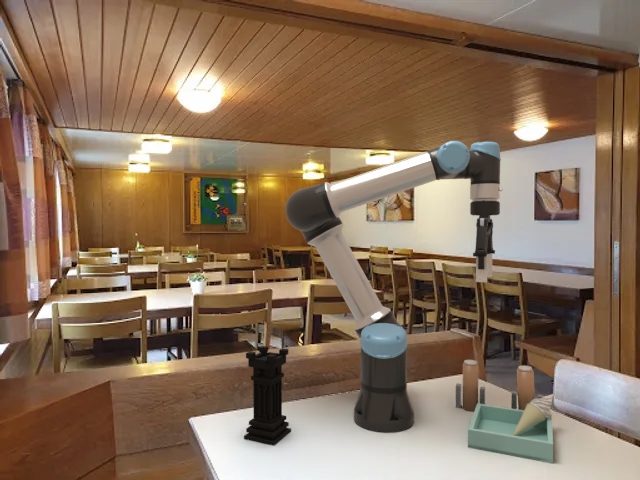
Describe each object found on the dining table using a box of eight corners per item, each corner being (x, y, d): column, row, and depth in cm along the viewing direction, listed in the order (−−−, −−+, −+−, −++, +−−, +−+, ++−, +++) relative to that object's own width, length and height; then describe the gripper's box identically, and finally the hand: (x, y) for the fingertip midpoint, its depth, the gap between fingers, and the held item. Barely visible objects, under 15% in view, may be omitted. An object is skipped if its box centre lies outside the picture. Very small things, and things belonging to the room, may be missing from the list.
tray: (467, 447, 105) (467, 429, 105) (477, 418, 120) (477, 403, 120) (553, 463, 98) (553, 444, 98) (551, 431, 113) (551, 414, 113)
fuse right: (519, 419, 120) (517, 368, 120) (517, 413, 124) (515, 364, 124) (536, 420, 119) (534, 369, 119) (534, 414, 123) (532, 365, 123)
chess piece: (291, 431, 113) (290, 348, 112) (274, 445, 106) (273, 357, 105) (262, 425, 116) (261, 345, 116) (244, 439, 109) (243, 353, 108)
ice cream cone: (527, 447, 107) (567, 403, 111) (516, 429, 106) (557, 386, 111) (512, 440, 111) (551, 399, 116) (501, 423, 111) (540, 382, 116)
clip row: (455, 407, 128) (455, 385, 128) (456, 404, 130) (456, 383, 129) (542, 421, 119) (543, 397, 119) (542, 418, 121) (543, 395, 120)
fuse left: (461, 409, 126) (461, 362, 126) (463, 404, 130) (463, 358, 129) (477, 412, 125) (477, 364, 124) (478, 407, 128) (479, 360, 128)
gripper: (495, 197, 114) (495, 285, 115) (503, 202, 137) (502, 275, 137) (463, 198, 117) (463, 283, 118) (476, 203, 140) (475, 274, 140)
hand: (484, 279), depth 128 cm, fingers open, 13 cm apart
